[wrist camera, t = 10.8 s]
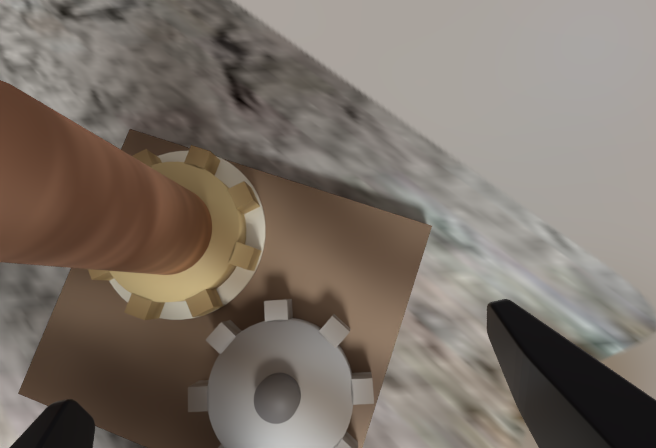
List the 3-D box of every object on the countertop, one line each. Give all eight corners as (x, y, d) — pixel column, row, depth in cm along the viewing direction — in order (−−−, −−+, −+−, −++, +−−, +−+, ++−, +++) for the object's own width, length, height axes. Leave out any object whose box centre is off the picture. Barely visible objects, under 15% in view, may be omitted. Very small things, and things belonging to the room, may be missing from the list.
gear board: (338, 513, 21) (334, 557, 17) (35, 388, 23) (-22, 405, 19) (428, 229, 23) (440, 218, 19) (140, 136, 25) (105, 111, 21)
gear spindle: (227, 343, 21) (45, 418, 9) (74, 286, 22) (-279, 281, 10) (286, 181, 22) (198, 47, 10) (138, 134, 23) (-109, -42, 11)
